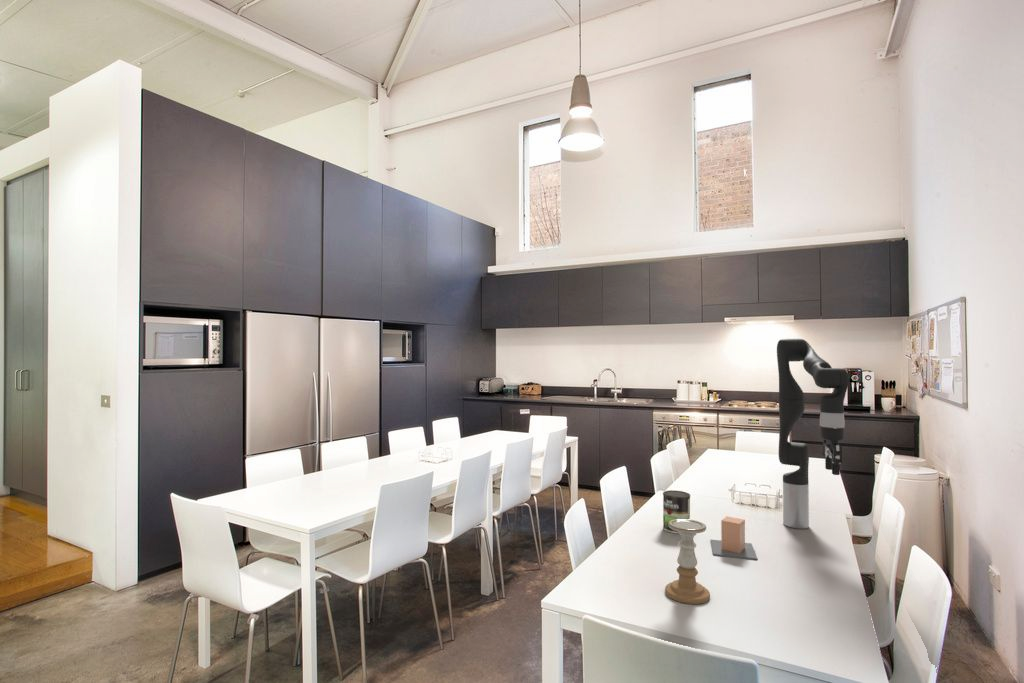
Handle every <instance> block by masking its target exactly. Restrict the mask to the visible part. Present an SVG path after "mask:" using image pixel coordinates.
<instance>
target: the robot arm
mask: <svg viewBox="0 0 1024 683" xmlns="http://www.w3.org/2000/svg"><path fill="white" fill-rule="evenodd" d="M776 360H777V369H778V412H779V413H778V414H779V415H778V416H779V419H778V420H779V432H778V433H779V435H778V460H779V463H780V464H781V465H785V466H795V467H799V468H798V469H797V470H794V471H790V472H786V473H784V474H783V475H782V524H783V525H784V526H786V527H788V528H793V529H800V530H801V529H808V528H809V527H810V526H809V525H810V524H809V523H810V519H809V518H810V516H809V515H810V512H809V511H810V508H809V507H810V505H809V504H810V503H809V501H810V500H809V499H810V498H809V495H810V494H809V493H810V492H809V490H810V488H809V487H810V486H809V485H810V484H809V462H810V461H809V460H810V450H809V449H810V448H809V445H808V443H804V442H792V441H788V440H789V436H790V433H791V432H792V431H793V428H794V426H795V425H796V424H797V423H798V422H799V420H800V419H801V417H802V416H803V414H804V412H805V393H804V391H803V389H802V387H801V386H800V385H799V383H798V382H797V381H796V379H795V377H794V376H793V374H792V371H791V368H790V363H791V362H803V363H802V365H803V370H805V372H807V373H808V374H809V375H810V376H811V377H812V379H813V381H814V383H815V386H817V387H819V388H820V389H821V388H822V389H833V391H832V392H831V393H829V394H824V395H822V396H821V397H820V398H819V401H820V402H819V405H820V407H819V408H820V409H819V411H820V412H819V414H820V415H819V438H820V439H823V440H822V443H823V444H822V445H823V446H822V447H823V448H822V451H823V452H822V455H823V457H824V459H825V461H824V462H825V463H824V464H825V465H824V466H825V467H824V469H825V470H827V471H828V470H829V471H831V474H832V475H833V476H840V474H841V472H840V471H841V469H840V468H841V464H843V445H841V444H839V441H844V440H845V439H846V432H845V431H846V429H845V426H846V423H845V415H844V414H845V412H844V410H845V408H844V407H845V406H844V405H845V404H844V402H845V397H846V393H847V390H848V388H849V384H850V374H849V372H848V371H847V370H846V369H845V368H840V367H839V368H838V367H837V368H835V367H834V368H833V367H832V366H831V365H830V364H829V362H827V361H826V360H824V359H823V358H821V357H820V356H819V355H818V354H817V353H816V351H815V350H814V349H813V348H812V346H811V344H810V343H809V342H808V341H806V340H805V339H804V338H781V339H779V340H778V342H777V345H776Z"/></svg>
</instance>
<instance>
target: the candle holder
mask: <svg viewBox="0 0 1024 683" xmlns="http://www.w3.org/2000/svg"><path fill="white" fill-rule="evenodd" d="M668 526H669V527H670V528H671V529H673V530H675V531H678V533H679V535H680V540H679V541H678V543H677V545H678V546H679V552H678V555H677V559H676V562H677V563H678V566H677V567H676V572H677V573H678V579H676V580H673V581H671V582H669V583H667V584H666V585H665V587H664V592H665V595H666V596H667V597H668V598H670V599H671V600H674V601H675V602H679V603H682V604H687V605H700V604H705V603H707V602H708V601H710V598H711V592H710V591H709V590H708V589H707V588H706V587H705V586H704V585H702V584H701V583H699V582H697V580H696V576H697V575H698V574H699V571H698V569H697V568H696V566H697V565H698V559H697V557H696V553H695V549H696V547H697V543H696V542H695V541H694V539H695V536H696V535H698V534H702V533H704V532H706V530H707V525H706V524H705V523H703V522H701V521H698V520H696V519H695V520H694V519H674V520H671V521H669V523H668Z"/></svg>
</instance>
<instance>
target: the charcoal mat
mask: <svg viewBox="0 0 1024 683" xmlns="http://www.w3.org/2000/svg"><path fill="white" fill-rule="evenodd" d="M710 545H711V551H712V555H713V556H717V557H727V558H735V559H745V560H755V561H758V559H759V558H758V556H757V554H756V551H755V549H754V548H755V547H754V546H753V544H752V543H750V542H745V549H744V550H743V551H742V552H741V553H737V552H733V551H728V550H724V549H722V542H721V540H720V539H710Z"/></svg>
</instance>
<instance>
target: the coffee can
mask: <svg viewBox="0 0 1024 683" xmlns="http://www.w3.org/2000/svg"><path fill="white" fill-rule="evenodd" d="M662 496H663V498H662V501H663V505H662V507H663V510H662V511H663V514H662V515H663V516H662V518H663V520H662V522H663V523H662V524H663V525H662V529H663V530H664V531H665V532H668V533H671V534H675V535H676V534H677V535H678V534H679V533H678V531H675V530H673V529H671V528H670V527H669V526H668V523H669V521H671V520H674V519H690V518H691V494H690V493H689V492H686V491H684V490H683V491H682V490H672V489H671V490H664V491H663V492H662ZM690 520H691V519H690ZM679 535H680V534H679Z"/></svg>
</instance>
